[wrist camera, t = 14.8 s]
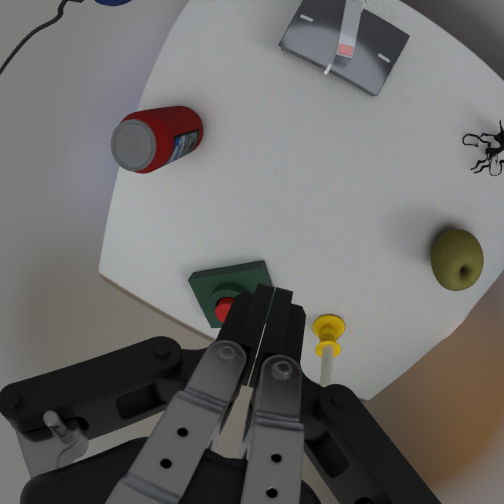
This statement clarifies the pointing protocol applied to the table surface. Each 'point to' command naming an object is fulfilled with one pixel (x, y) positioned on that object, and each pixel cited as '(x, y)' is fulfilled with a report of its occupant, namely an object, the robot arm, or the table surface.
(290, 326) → the robot arm
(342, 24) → the tap handle
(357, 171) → the table surface
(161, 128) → the beverage can
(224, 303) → the red button
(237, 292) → the button box
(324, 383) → the candle
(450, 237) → the apple
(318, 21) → the plate
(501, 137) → the creature
